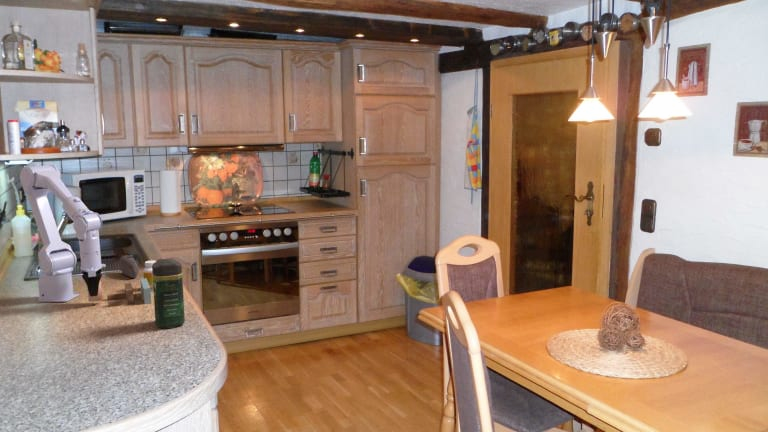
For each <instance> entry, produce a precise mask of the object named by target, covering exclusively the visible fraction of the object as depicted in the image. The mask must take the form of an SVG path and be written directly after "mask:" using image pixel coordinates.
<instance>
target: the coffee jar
mask: <svg viewBox="0 0 768 432" xmlns="http://www.w3.org/2000/svg"><path fill="white" fill-rule="evenodd" d="M155 261H156V262H155V263H154V264H153V265H152V275H153V290H154V291H153V303H154V321H155V322H154V323H155V325H156V326H157V327H158V328H168V329H172V328H176V327H178V326H182V325H184V324H185V321H186V320H185V319H186V318H185V302H184V296H185V295H184V283H183V282H184V280H183V268H182V267H183V266H182V263H180V262H179V261H177V260H175V259H173V258H161V259H157V260H155Z"/></svg>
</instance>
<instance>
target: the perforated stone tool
mask: <svg viewBox="0 0 768 432" xmlns="http://www.w3.org/2000/svg"><path fill="white" fill-rule="evenodd" d="M118 267H119V270H120V272H121V273H122V274H123V275H124V276H126V277H129V278H132V279H135V278H137V276H138V275H139V266H138V264H137V261H136V260H135V258H134V257H132V256H130V255H128V254H127V255H122V256H120V258H119V261H118Z"/></svg>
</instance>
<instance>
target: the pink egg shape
mask: <svg viewBox="0 0 768 432" xmlns="http://www.w3.org/2000/svg"><path fill="white" fill-rule="evenodd" d="M87 297H88V298H87V299H88V302H92V303H94V302H100V301H102V300H103V289H102V280H101V279H100V282H99V289H98V296H91V297H90V295H89V291H88V290H87Z"/></svg>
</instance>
